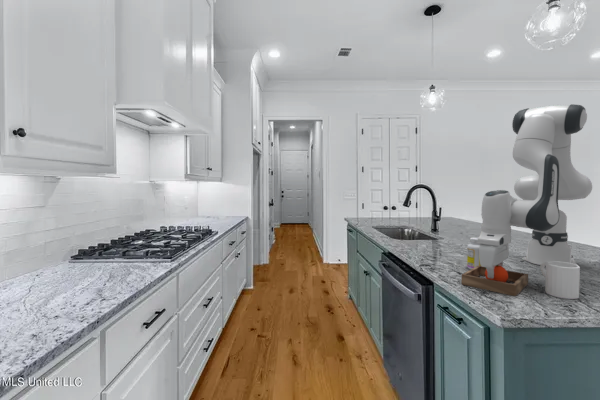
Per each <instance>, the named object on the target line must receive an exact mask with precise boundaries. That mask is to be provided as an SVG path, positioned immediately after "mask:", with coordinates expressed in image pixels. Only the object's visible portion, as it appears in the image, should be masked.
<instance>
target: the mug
mask: <svg viewBox="0 0 600 400" xmlns="http://www.w3.org/2000/svg"><path fill="white" fill-rule="evenodd" d="M576 264H577V263H576ZM576 264H573V263H568V262H560V261H548V262H544V263H542V264H541V265H539V268H540V272H541V273H542V276H543V277H544V278H545V281H544V283H545V285H544V286H545V287H544V290H545V291H544V292H545V293H546V294H547V295H549V296H552V297H555V298H559V299H566V300H577V299H579V298H580V281H581V280H580V278H581V277H580V276H581V275H580V274H581V273H580V272H581V266H580V265H578V264H577V265H576ZM545 265H546V266H545Z"/></svg>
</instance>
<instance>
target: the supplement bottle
mask: <svg viewBox="0 0 600 400" xmlns="http://www.w3.org/2000/svg"><path fill="white" fill-rule="evenodd" d="M469 242H470V243H468V244H467V247H466V251H467V252H466V254H467V256H466V257H467V258H466V262H467V263H466V266H467V269H468V270H471V269H473V268H474V267H476V266H481V264H480V259H479V246H480V244H478V237H470V239H469Z"/></svg>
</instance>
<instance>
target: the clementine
mask: <svg viewBox="0 0 600 400" xmlns="http://www.w3.org/2000/svg"><path fill="white" fill-rule="evenodd" d="M507 271H508V270H507ZM507 271H506V268H505V267H504V266H499V265H496V266H495V267H494V273H495V277H494V278H493V279H491V278H488V273H487V269H486V270H485V276H484V277H485V279H490V280H495V281H500V282H505V283H507V280H508V273H507Z"/></svg>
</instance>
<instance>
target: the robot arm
mask: <svg viewBox="0 0 600 400" xmlns="http://www.w3.org/2000/svg"><path fill="white" fill-rule="evenodd" d="M586 110H587V109H586V108H585V107H584V106H583V105H581V104H570V105H569V104H560V105H559V104H557V105H554V104H553V105H546V106H540V107H534V108H523V109H520V110H518V111H517V112H516V113H515V114H514V116H513V119H512V122H511V123H512V124H511V125H512V126H511V128H512V131H513V132H514V134H516V138H515V141H514V143H513V144H514V145H513V147H512V148H513V149H512V158H513V161H515V162H516V163H517V164H518V165H519V166H520V167H523V168H525V169H528V170H530V171H534V172H536V173H537V174H531V175H525V176H520V177H518V179H517V180H516V181H515V183H514V186H513V189H514V194H516V196H517V197H518V198H520V199H518V198H515V197H513V196H512V195H511V193H510V191H509V190H505V189H500V190H499V189H498V190H491V191H488V192H486V193H484V195H483V198H482V200H481V201H482V202H481V214H480V215H481V219H482V224H481V225H480V226H481V227H480V234H479V236H478V237H477V238H478V244H480V246H479V259H480V264H481V266H482V267H486V269H487V273H488V278H491V279H493V278H494V277H495V273H494V267H495V266H496V265H499V266H502V267H504V262H505V261H506V260H507V259H509V255H510V250H509V246H510V245H509V244H511V243H512V240H511V239H512V227H516V228H524V229H530V230H532V231H531V232H532V233H531V240H530V241H528V242H527V249H526V255H525V256H523V257H521V258H522V261H525V262H526V261H527V262H529V263H531V264H534V265H538V266H541V264H542V263H544V262H548V261H560V262H568V263H573V264H576V265H578V264H577V262H576V260H575V259H574V255H573V254H572V247H571V246H570V244H568V239H569V235H568V232H567V226H568V225H567V220H568V216H567V215H566V214H567V213H565V212H564V211H563V210H560V209H559V201H575V200H581V199H586V198H587V197H588V196H590V194H591V193H592V190H593V182H592V181H591V179H590V178H589V177H588V176H586V175H584V174H583V173H581V172H579V171H578V170H577V169H576V168H575V166H574V165H573V162H572V159H571V158H572V157H571V147H572V146H571V145H572V134H576V133H578V132H580V131H581V130H582V129H584V126H585V125H586V123H587V119H588V113H587V111H586ZM545 267H546V265H545Z"/></svg>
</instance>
